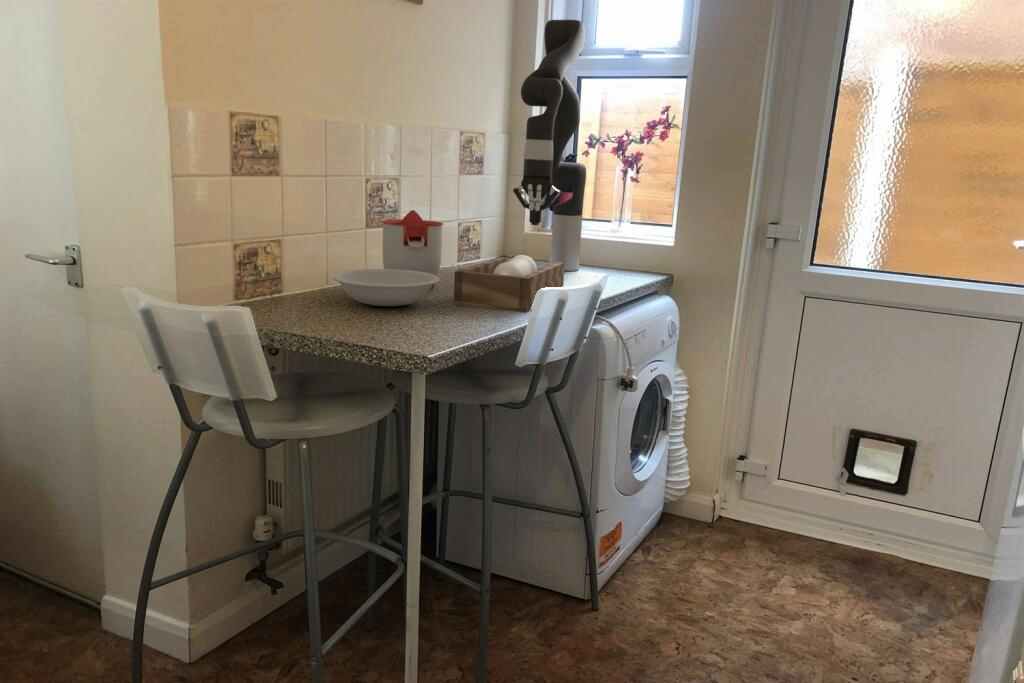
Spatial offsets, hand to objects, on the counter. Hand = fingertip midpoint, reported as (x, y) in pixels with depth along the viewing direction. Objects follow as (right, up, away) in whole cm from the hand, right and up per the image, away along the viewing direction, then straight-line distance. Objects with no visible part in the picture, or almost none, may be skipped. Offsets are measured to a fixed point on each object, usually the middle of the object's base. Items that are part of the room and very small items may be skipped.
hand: (534, 224), depth 213 cm
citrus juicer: (-32, -17, -5) cm, 37 cm away
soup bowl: (-35, -23, -28) cm, 50 cm away
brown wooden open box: (-6, -20, -12) cm, 24 cm away
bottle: (-3, -11, +5) cm, 13 cm away
